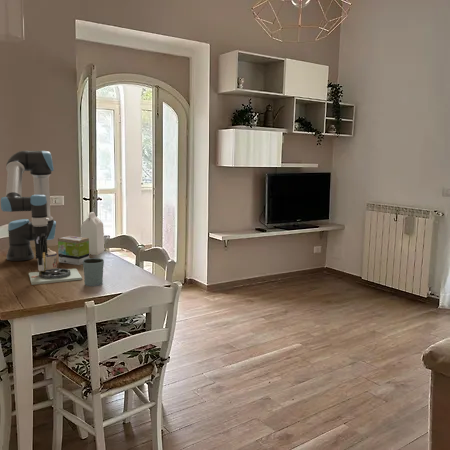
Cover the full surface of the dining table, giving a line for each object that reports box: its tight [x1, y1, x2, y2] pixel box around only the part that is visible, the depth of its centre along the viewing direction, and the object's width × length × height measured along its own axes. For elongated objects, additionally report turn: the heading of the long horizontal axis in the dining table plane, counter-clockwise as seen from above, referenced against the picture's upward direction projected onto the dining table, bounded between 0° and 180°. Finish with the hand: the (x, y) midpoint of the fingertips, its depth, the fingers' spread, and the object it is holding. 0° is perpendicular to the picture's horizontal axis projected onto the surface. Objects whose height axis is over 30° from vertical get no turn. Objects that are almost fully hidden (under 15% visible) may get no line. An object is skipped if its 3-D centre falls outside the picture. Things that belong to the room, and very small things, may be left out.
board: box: [28, 268, 83, 285], centre depth 244 cm, size 20×24×1 cm
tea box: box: [57, 235, 90, 266], centre depth 275 cm, size 15×10×15 cm, turn 68°
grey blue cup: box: [82, 257, 105, 287], centre depth 232 cm, size 10×10×12 cm
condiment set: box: [46, 247, 58, 270], centre depth 260 cm, size 12×9×12 cm
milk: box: [80, 211, 106, 256], centre depth 301 cm, size 12×12×26 cm
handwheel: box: [38, 252, 71, 279], centre depth 243 cm, size 16×15×11 cm
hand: (42, 269), depth 244 cm, fingers open, 5 cm apart
